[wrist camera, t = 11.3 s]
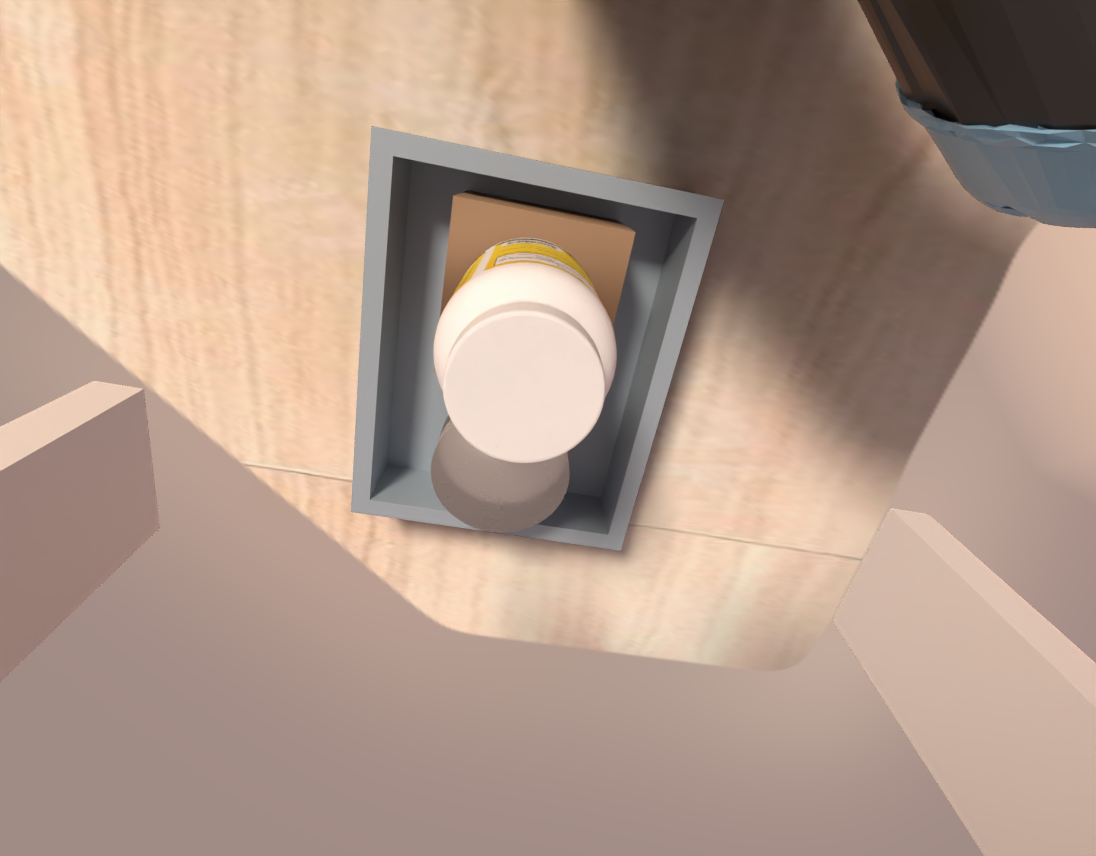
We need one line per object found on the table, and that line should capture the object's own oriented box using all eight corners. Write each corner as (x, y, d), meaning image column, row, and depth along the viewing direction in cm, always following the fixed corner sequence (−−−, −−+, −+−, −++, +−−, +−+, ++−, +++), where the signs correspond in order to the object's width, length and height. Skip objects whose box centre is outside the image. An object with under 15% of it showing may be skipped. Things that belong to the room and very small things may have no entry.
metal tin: (456, 355, 33) (438, 400, 27) (573, 375, 34) (582, 424, 28) (443, 459, 36) (424, 522, 30) (552, 476, 37) (555, 541, 30)
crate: (397, 131, 29) (371, 126, 25) (696, 194, 31) (724, 199, 26) (373, 469, 37) (351, 511, 33) (610, 505, 39) (620, 550, 34)
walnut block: (468, 189, 30) (453, 195, 24) (617, 219, 30) (635, 232, 25) (450, 337, 33) (433, 371, 27) (585, 361, 34) (595, 399, 28)
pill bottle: (504, 391, 28) (486, 519, 18) (433, 279, 26) (367, 354, 16) (617, 330, 27) (667, 430, 17) (554, 208, 24) (567, 238, 14)
